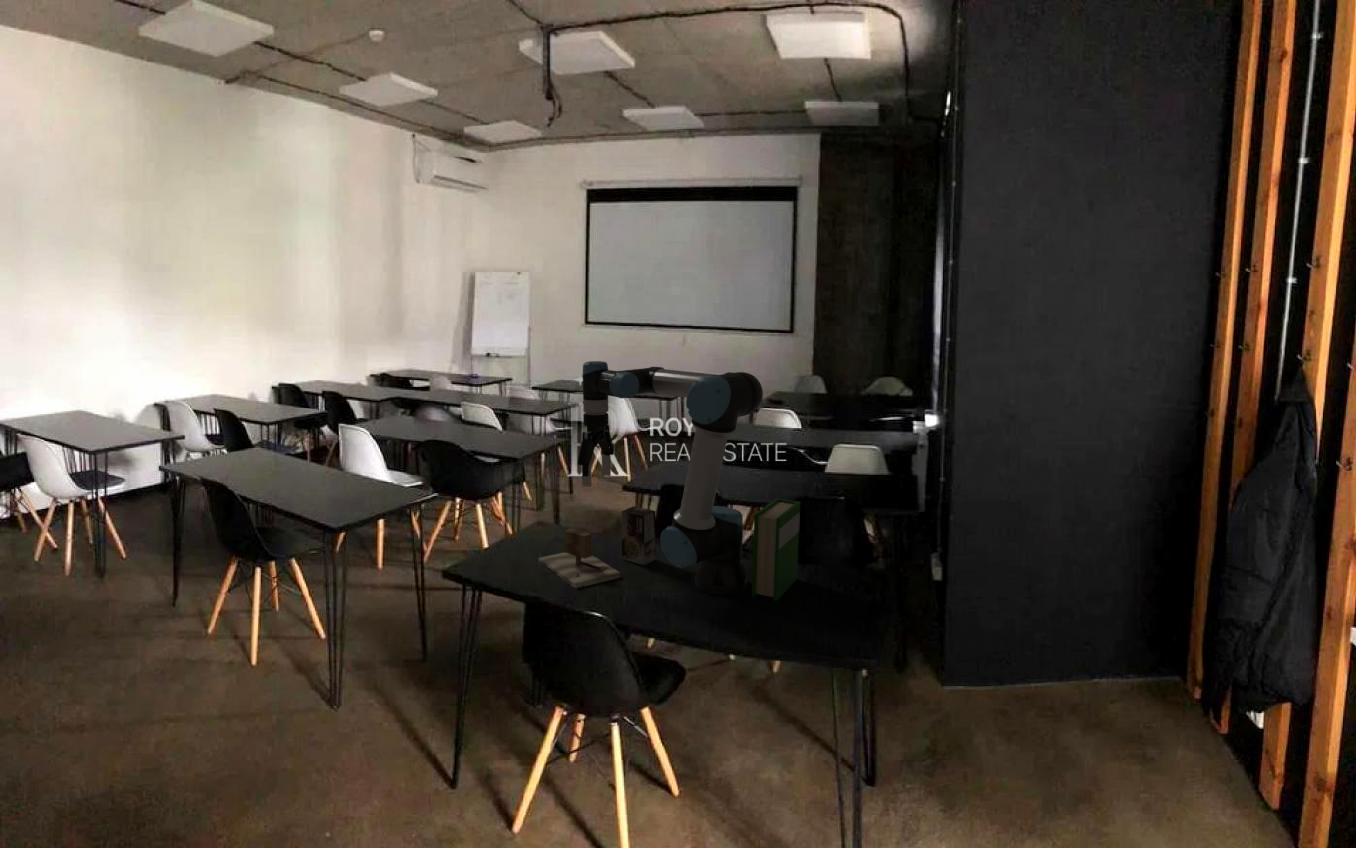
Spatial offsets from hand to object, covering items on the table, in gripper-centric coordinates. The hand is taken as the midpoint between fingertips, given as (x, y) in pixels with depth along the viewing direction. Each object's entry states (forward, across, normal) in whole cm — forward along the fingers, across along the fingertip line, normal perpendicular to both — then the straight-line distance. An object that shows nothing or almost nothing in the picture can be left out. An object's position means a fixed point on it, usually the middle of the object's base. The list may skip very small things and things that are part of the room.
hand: (596, 480), depth 236 cm
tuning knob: (+24, +9, 0) cm, 26 cm away
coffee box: (+26, -6, +11) cm, 29 cm away
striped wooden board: (+26, +9, -2) cm, 28 cm away
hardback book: (+27, -1, +56) cm, 62 cm away
